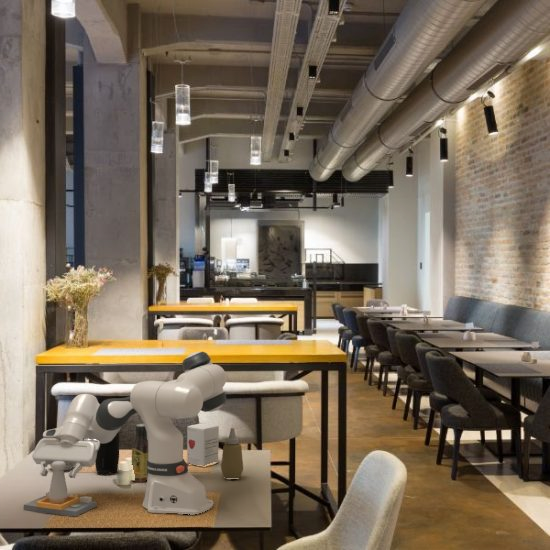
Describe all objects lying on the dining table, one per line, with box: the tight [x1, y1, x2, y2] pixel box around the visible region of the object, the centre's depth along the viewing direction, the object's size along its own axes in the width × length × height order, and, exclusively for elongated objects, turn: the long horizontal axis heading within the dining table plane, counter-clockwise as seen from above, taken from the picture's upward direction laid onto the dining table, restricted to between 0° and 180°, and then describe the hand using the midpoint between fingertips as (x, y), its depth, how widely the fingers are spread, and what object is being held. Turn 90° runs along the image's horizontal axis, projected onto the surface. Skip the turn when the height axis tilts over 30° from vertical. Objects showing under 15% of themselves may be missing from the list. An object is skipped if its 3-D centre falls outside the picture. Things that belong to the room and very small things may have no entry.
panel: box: [23, 491, 97, 518], centre depth 237 cm, size 19×11×3 cm, turn 70°
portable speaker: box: [94, 430, 120, 476], centre depth 281 cm, size 9×9×20 cm
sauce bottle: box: [131, 423, 148, 483], centre depth 270 cm, size 7×6×20 cm
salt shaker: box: [48, 461, 69, 505], centre depth 236 cm, size 6×6×13 cm
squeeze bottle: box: [220, 427, 244, 478], centre depth 274 cm, size 8×8×18 cm
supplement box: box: [186, 422, 220, 466], centre depth 295 cm, size 9×9×15 cm
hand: (57, 476), depth 236 cm, fingers open, 8 cm apart
